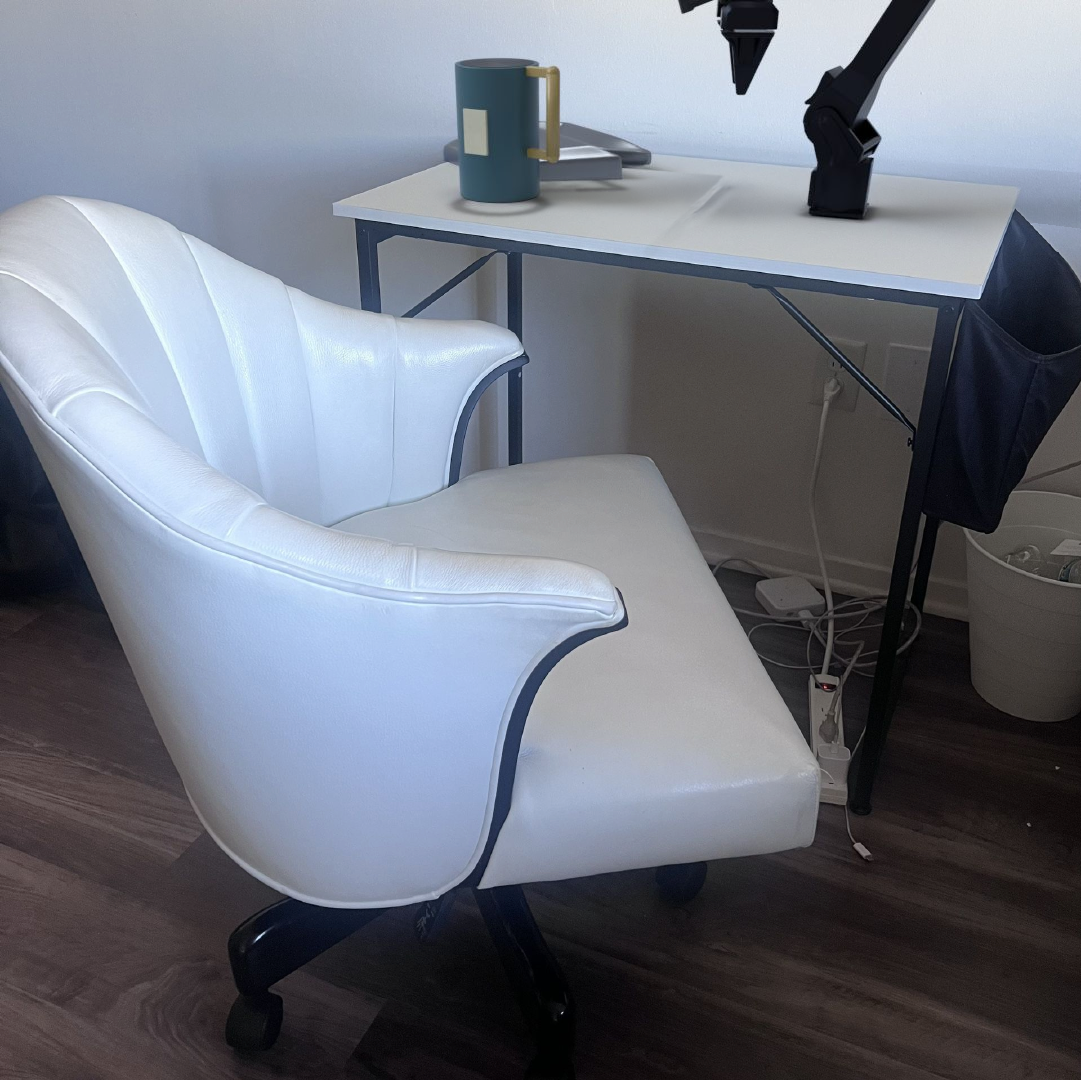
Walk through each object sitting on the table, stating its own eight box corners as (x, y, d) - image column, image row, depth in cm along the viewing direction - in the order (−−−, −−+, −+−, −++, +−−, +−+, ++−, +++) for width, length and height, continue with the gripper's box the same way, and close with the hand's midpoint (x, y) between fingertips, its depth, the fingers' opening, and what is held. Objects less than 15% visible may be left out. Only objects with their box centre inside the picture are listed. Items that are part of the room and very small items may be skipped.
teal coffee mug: (575, 201, 126) (576, 64, 118) (504, 213, 121) (501, 71, 113) (510, 180, 136) (508, 53, 128) (443, 191, 131) (436, 59, 123)
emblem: (676, 123, 149) (594, 158, 128) (674, 162, 152) (593, 202, 131) (507, 109, 161) (406, 139, 140) (508, 145, 163) (409, 180, 142)
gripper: (680, -61, 127) (672, 77, 135) (680, -57, 111) (671, 100, 119) (773, -61, 125) (759, 78, 134) (786, -57, 110) (770, 101, 118)
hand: (738, 89), depth 126 cm, fingers open, 9 cm apart
